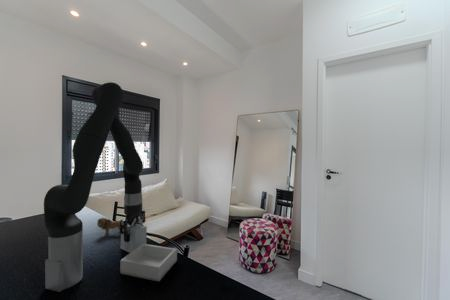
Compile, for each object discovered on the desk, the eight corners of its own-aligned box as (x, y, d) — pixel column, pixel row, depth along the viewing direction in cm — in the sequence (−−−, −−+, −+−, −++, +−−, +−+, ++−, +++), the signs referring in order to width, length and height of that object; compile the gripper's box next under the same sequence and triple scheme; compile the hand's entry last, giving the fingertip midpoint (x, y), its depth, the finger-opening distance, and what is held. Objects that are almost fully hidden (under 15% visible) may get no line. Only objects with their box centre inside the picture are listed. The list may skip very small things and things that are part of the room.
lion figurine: (95, 238, 102) (95, 220, 102) (98, 233, 107) (98, 216, 107) (128, 234, 107) (128, 217, 106) (129, 230, 112) (129, 214, 111)
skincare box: (147, 248, 92) (147, 225, 92) (134, 255, 87) (134, 231, 87) (132, 242, 98) (132, 221, 98) (119, 248, 92) (119, 225, 92)
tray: (159, 281, 71) (159, 267, 70) (120, 273, 75) (120, 260, 74) (176, 260, 83) (176, 248, 83) (142, 255, 87) (142, 243, 87)
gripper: (129, 208, 84) (129, 246, 85) (149, 198, 98) (150, 231, 99) (114, 206, 86) (114, 243, 87) (136, 197, 100) (136, 229, 101)
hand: (133, 237), depth 93 cm, fingers open, 8 cm apart
